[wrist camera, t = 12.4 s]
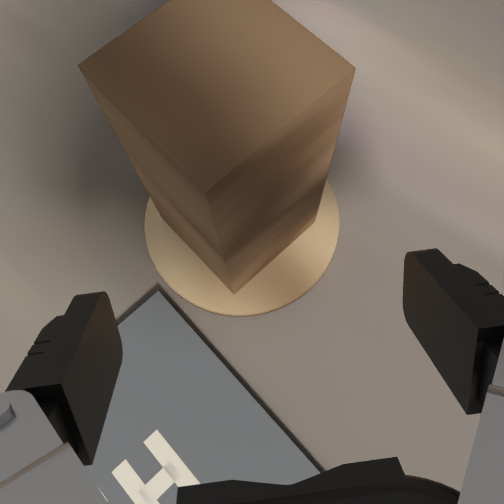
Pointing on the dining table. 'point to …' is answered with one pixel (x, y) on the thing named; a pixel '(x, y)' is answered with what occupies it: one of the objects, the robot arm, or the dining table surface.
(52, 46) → the dining table surface
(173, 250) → the coaster
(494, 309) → the robot arm
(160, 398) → the blue-gray tile
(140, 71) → the walnut block
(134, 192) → the dining table surface
